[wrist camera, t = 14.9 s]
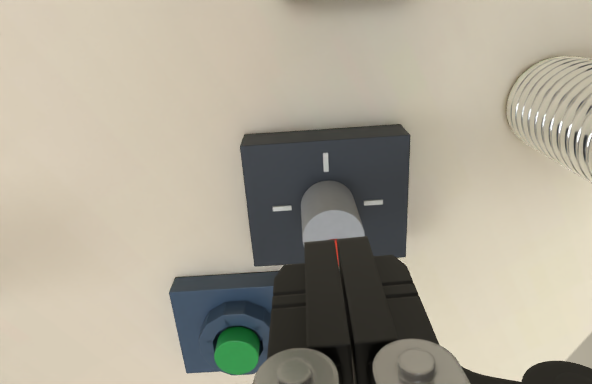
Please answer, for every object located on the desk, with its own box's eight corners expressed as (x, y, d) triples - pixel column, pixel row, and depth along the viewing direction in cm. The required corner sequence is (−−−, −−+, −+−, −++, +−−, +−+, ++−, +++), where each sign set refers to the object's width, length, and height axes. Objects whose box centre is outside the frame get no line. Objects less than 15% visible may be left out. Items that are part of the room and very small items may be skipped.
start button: (257, 324, 36) (256, 339, 35) (261, 358, 38) (260, 373, 36) (214, 327, 36) (210, 342, 35) (220, 360, 38) (217, 376, 36)
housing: (299, 269, 39) (300, 297, 35) (305, 349, 42) (306, 382, 38) (175, 277, 39) (163, 306, 35) (191, 355, 42) (181, 389, 39)
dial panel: (400, 124, 34) (411, 135, 31) (397, 238, 37) (406, 258, 35) (243, 134, 34) (239, 146, 31) (257, 247, 38) (254, 267, 35)
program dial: (297, 183, 32) (298, 216, 27) (352, 177, 32) (363, 208, 27) (304, 231, 34) (306, 270, 29) (356, 225, 33) (367, 263, 29)
